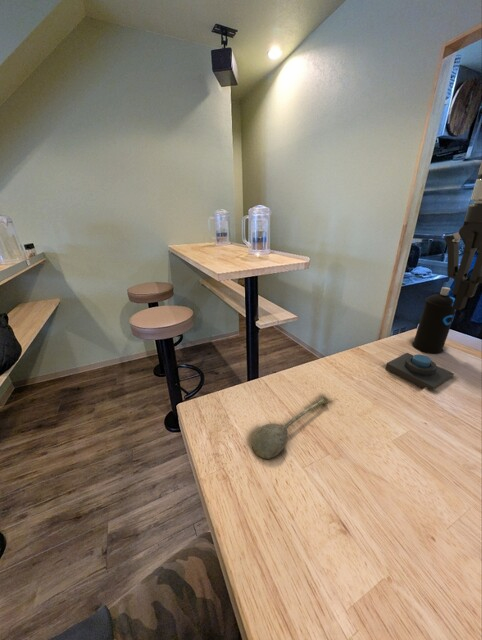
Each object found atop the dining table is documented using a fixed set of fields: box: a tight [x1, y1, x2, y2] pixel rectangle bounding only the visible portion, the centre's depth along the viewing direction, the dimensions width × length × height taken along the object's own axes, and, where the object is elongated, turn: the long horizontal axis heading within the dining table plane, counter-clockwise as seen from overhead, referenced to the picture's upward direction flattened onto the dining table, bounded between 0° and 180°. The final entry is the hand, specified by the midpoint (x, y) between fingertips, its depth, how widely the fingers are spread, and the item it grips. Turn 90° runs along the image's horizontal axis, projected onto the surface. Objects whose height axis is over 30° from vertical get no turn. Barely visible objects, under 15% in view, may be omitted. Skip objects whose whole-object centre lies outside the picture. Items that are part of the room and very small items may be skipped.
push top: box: [412, 353, 432, 368], centre depth 67 cm, size 4×4×2 cm
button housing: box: [384, 352, 455, 392], centre depth 68 cm, size 12×10×4 cm
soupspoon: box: [251, 396, 330, 460], centre depth 54 cm, size 22×3×7 cm
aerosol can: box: [411, 286, 457, 355], centre depth 77 cm, size 8×8×20 cm
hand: (458, 308), depth 61 cm, fingers closed
